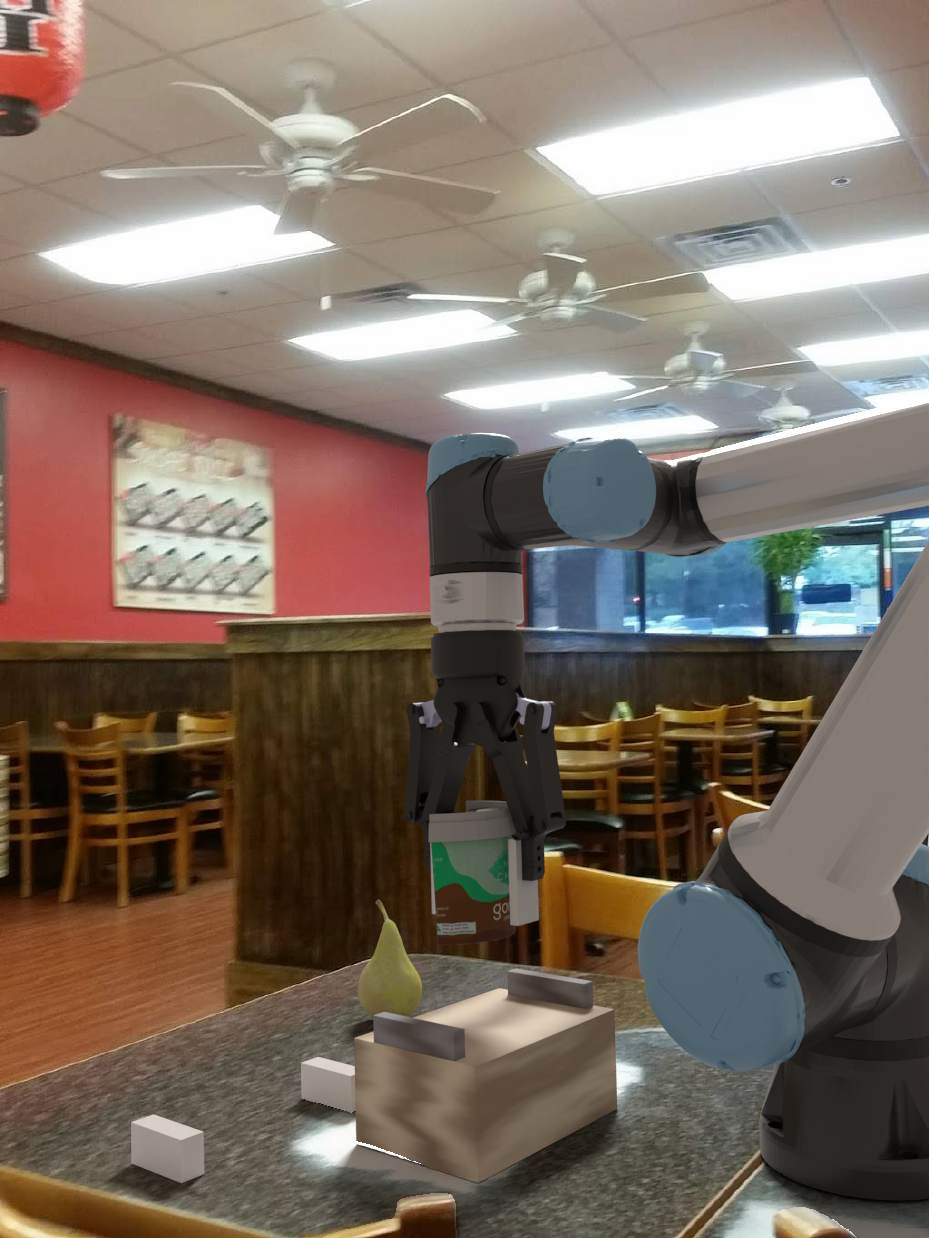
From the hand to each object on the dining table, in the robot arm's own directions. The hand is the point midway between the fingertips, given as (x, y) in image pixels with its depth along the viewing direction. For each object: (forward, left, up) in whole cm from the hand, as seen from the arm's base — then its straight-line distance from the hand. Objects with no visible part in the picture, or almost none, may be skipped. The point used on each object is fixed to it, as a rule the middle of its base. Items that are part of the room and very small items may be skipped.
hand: (484, 916), depth 96 cm
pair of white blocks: (+14, +12, -16) cm, 25 cm away
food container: (-1, 0, -2) cm, 2 cm away
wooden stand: (0, 0, -16) cm, 16 cm away
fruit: (+27, -17, -17) cm, 36 cm away
